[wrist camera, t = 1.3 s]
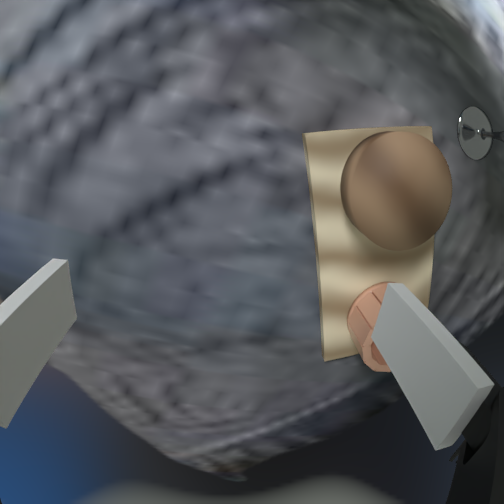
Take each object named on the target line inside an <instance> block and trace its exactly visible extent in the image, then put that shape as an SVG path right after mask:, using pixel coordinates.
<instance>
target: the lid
mask: <svg viewBox="0 0 504 504" xmlns="http://www.w3.org/2000/svg"><path fill="white" fill-rule="evenodd" d="M340 194H341V201H342V204H343V208H344V210H345V213H346V215H347V217H348V218H349V220H350V221H351V223H352V224H353V225H354V226H355V227H356V228H357V229H358V230H359V231H360V232H361V233H362V234H363V235H365V236H366V237H367V238H368V239H369V240H371V241H372V242H373V243H375V244H376V245H378V246H380V247H382V248H385V249H388V250H393V251H403V250H409V249H412V248H415V247H417V246H420V245H421V244H423V243H425V242H426V241H427V240H429V239H430V238H431V237H432V236H433V235H434V234H435V233H436V232H437V230H438V229H439V228H440V226H441V225H442V223H443V222H444V220H445V218H446V215H447V213H448V210H449V207H450V203H451V197H452V179H451V174H450V170H449V166H448V164H447V162H446V159H445V158H444V156H443V154H442V153H441V151H440V150H439V149H438V148H437V147H436V145H435V144H434V143H432V142H431V141H430V140H428V139H427V138H425V137H423V136H421V135H419V134H416V133H411V132H397V131H385V132H379V133H376V134H373V135H371V136H369V137H367V138H366V139H364V140H362V141H361V142H360V143H359V144H358V145H357V146H356V147H355V148H354V149H353V151H352V152H351V154H350V155H349V157H348V159H347V161H346V163H345V165H344V168H343V171H342V176H341V183H340Z"/></svg>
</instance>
